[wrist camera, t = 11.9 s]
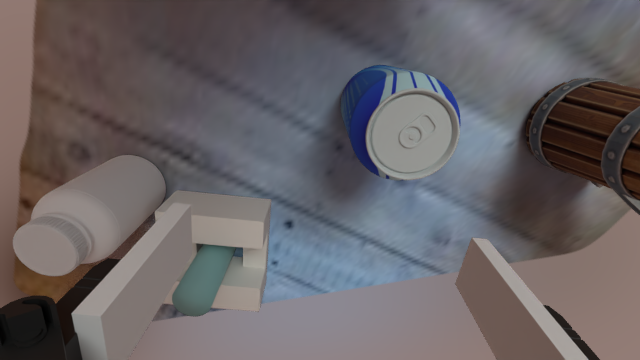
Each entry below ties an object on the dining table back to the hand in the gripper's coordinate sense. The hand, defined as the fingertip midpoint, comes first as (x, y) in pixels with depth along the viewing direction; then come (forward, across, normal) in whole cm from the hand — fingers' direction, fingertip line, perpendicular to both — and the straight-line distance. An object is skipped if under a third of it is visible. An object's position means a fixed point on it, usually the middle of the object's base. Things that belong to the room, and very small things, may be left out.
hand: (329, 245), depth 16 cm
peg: (+25, -11, -17) cm, 32 cm away
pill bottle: (+25, -22, -11) cm, 35 cm away
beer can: (+26, +6, +3) cm, 26 cm away
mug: (+26, +30, +2) cm, 40 cm away
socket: (+25, -11, -17) cm, 32 cm away
